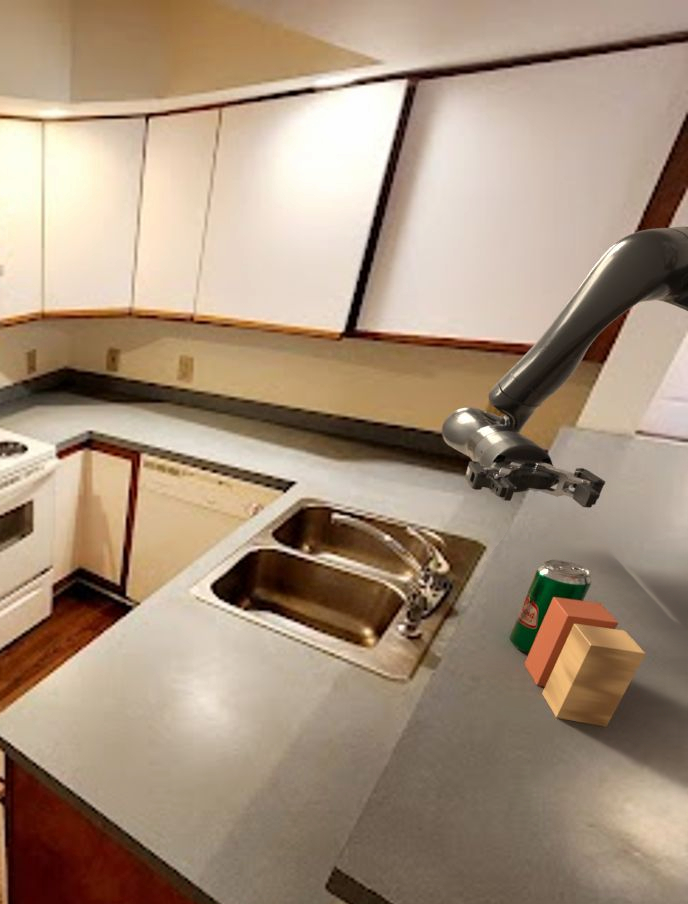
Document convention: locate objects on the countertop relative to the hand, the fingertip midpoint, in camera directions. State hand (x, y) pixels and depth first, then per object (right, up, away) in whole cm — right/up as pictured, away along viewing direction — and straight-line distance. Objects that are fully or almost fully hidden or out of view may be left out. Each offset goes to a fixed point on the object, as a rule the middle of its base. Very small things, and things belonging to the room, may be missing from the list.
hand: (549, 497), depth 83 cm
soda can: (-4, -20, -1) cm, 20 cm away
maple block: (-8, -25, -12) cm, 29 cm away
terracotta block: (-6, -23, -7) cm, 24 cm away
